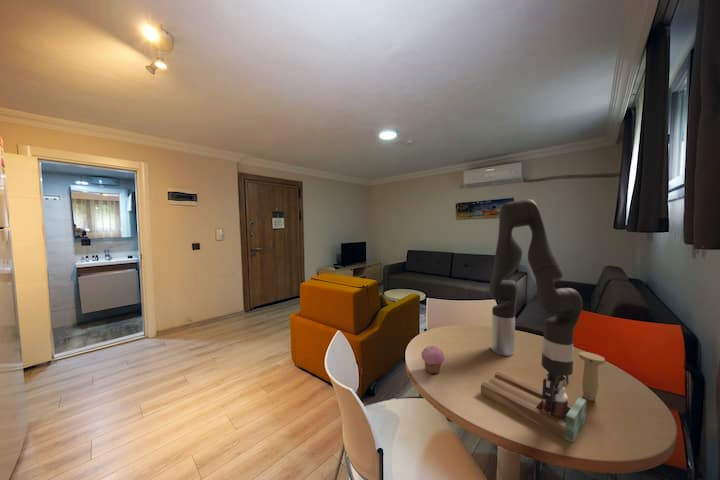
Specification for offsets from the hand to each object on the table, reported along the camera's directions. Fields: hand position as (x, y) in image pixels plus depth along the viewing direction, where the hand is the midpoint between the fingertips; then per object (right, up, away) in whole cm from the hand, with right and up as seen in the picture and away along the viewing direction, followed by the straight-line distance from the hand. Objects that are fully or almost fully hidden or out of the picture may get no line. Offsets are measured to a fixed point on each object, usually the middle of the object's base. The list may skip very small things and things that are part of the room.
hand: (554, 405), depth 80 cm
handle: (+18, -4, +9) cm, 21 cm away
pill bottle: (0, -5, +1) cm, 5 cm away
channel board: (-4, -4, +6) cm, 8 cm away
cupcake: (-30, -3, +27) cm, 40 cm away
